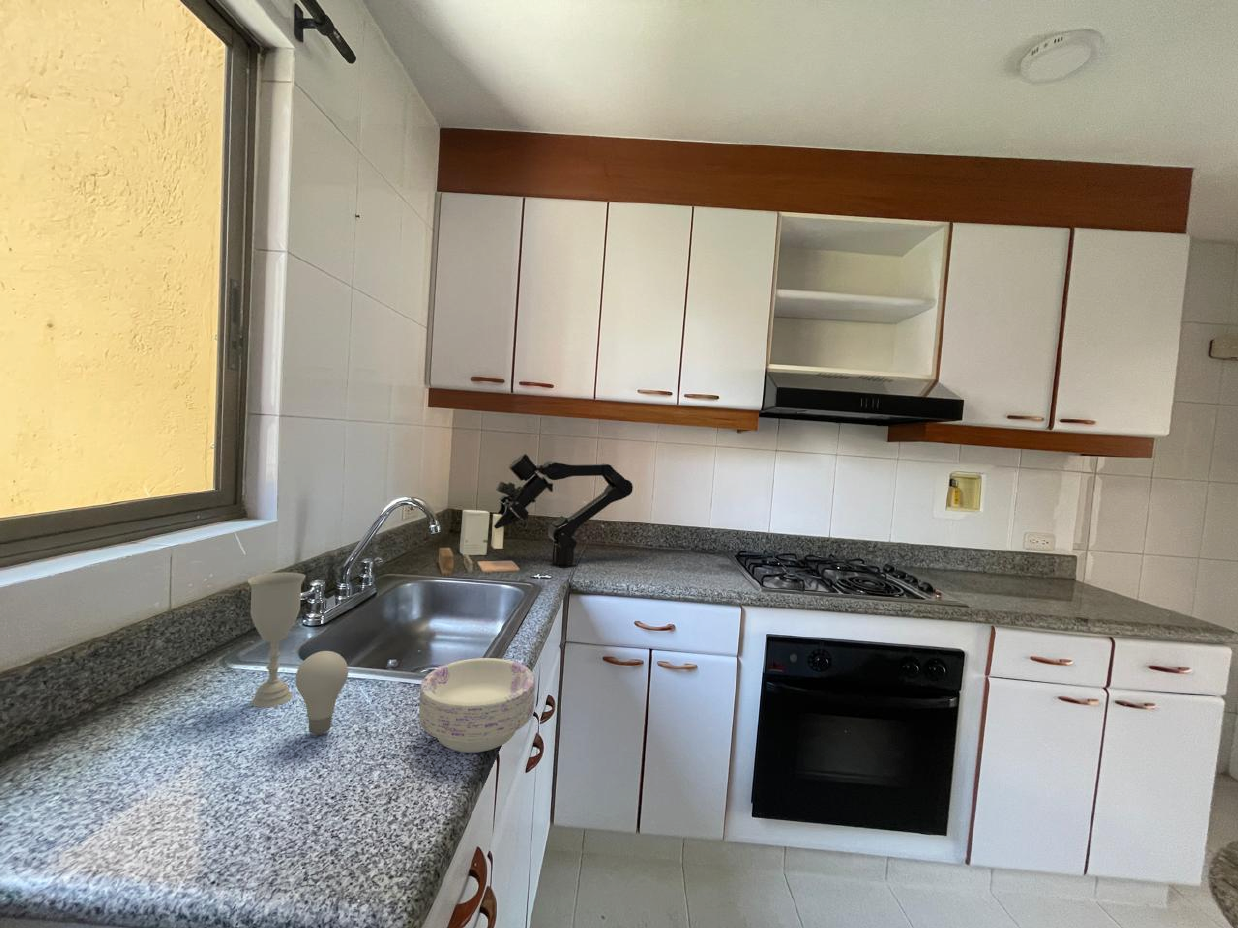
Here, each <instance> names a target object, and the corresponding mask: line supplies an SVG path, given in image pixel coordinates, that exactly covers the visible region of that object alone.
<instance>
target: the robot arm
mask: <svg viewBox="0 0 1238 928" xmlns="http://www.w3.org/2000/svg"><path fill="white" fill-rule="evenodd" d="M508 469H509V471H510V472H512V473H513V474H514V475H515V476H516V477H517V478H518V480H520V482H521V481H525V483H524V484H523V485H522V486H521V485H520V486H518V487H515V486H516V485H515V483H512V482H510V481H508V483H506V482H504V481H500V482H499V484H498V485H497V488H496V490H495V491H497V492H499V493H501V494H504V495H502V496H501V497H500V498H499V499H498V500H499V510H498V512H497V513H496V514H502V516H501V518H500V519H499V520H498V521H497V523H496V524H495V525H494V527H495V528H496V529H497V528H500V527H502V526H507V525H510V524H513V523H516V522H518V521H519V522H520V521H521V520H522V521H524V522H525V521H526V520H527V519H528V518H529V511H528V510H527V508H528V507H529V506H530V505H531V503H532V504H535V503H536V499H537V498H538V497H539V496H540V495H541V494H542V493H544V491H546V490H547V491H548V492H550V493H552V492H554V491H553V490H554V488H553V487H554V483H552V482H549V481H548V480H552V481H558V480H564V479H567V478H570V477H592V476H593V477H597V476H601V477H603V479H604V480H605V482H606V483H607V486H606V487H605V489H604V491H603V492H602V493H600V495H598V496H597V497H595V498H594V499H592V500H591V501H590V502H588V503H587V504H586V505H584V506H583V507H581V508H580V509H579V510H577V511H576V512H575V513H573V514H572V515H570V516H569V517H565V516H563V515H560V516H559V517H558V518H557V519H556V520H554V521H551V522H550V524H551V525H550V526H549V527H548V532H547V533H548V536H549V537H548V538H550V539H551V540H552V542H553V549H552V562H549V563H548V564H549V565H551V566H555V567H559V568H563V569H564V568H569V567H573V566H574V567H575V566H577V563H575V562H574V554H575V549H576V546H577V541H576V540H575V539H574V537H573V536H574V535H575V533H576V532H577V531H578V529H579V528H580V527H581V526H583V524H585V523H587V521H589V520H590V519H591V518H593V517H594V516H595V515H597V514H598V513H600V512H601V511H602V510H604V509H606V507H609V505H611V504H612V503H614V502H617V501H620V500H622V499H625V498H627V497H629V496H631V494H632V493H633V489H634V488H633V487H634V486H633V485H634V484H633V483H632V482H631V481H630V480H628V479H626V478H625V477H624V476H622V475H621V474H620V472H618V471H617V470H615V468H614V467H613V466H612V465H611V464H609V463H601V464H599V463H598V464H597V463H596V464H593V463H589V464H568V463H564V462H563V463H562V462H559V461H558V462H556V461H546V462H544V463H543V464H540V465H538V464H537V465H535V463H534V462H533V461H532V460H531V459H530V457H529V456H528V455H527V454H523V455H522V456H519V457H518V458H517V459H514V460H513V461H512V462H511V464H510V465H509V466H508ZM539 474H541V475H542V476H539ZM547 479H548V480H547ZM490 524H491V525H493V520H492V521H491V522H490Z"/></svg>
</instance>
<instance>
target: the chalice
mask: <svg viewBox="0 0 1238 928" xmlns="http://www.w3.org/2000/svg"><path fill="white" fill-rule="evenodd" d="M305 578H306V575H305V574H303V573H300V572H272V573H264V574H259V575H255V576H252V577H250V578H248V579H247V583H248V584H249V587H250V588H251V595H250V617H251V619H252V623H253V625H254V627H255V628H256V631H257V632H258V634H259V636H260V637H261V638H262V641H264V642H268V643H269V644H270V645H269V646H270V648H269V652H268V654H267V657H268V658H269V663H268V665H267V666H266V667H265V668H266V670H268V672H269V676H268V679H266V680H265V682H262V683H261V685H259V687H258V688H257V691H255V694H254V697H253V699H252V700H251V703H250V704H251V705H252V706H254V707H256V708H272V707H276V706H279V705H283V704H285V703H287V702H289V701H290V700H291V699H292V698H293V694H292V693H291V691H290V687H288V684H287V682H286V681H284V680H282V679H280V678H279V676H278V671H279V669H280V668H281V664H280V663H279V656H280V655H281V652H280V649H279V643H280V641H282V640H284V639H286V637H287V636H288V635H289V633H290V631H291V629H292V627H294V624H295V622H296V620H297V617H298V615H299V613H300V611H301V594H302V593H301V591H302V584H303V582H304V581H305Z"/></svg>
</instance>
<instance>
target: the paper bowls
mask: <svg viewBox="0 0 1238 928" xmlns="http://www.w3.org/2000/svg"><path fill="white" fill-rule="evenodd" d="M535 690H536V679H535V674H534V673H533V672H532V670H530V669H529V668H528V667H527V666H525V665H524V664H522V663H521V662H516V661H514V660H509V659H503V658H496V657H495V658H494V657H493V658H491V657H485V658H484V657H481V658H480V657H478V658H470V659H469V658H468V659H463V660H458V661H454V662H450V663H447V664H445V665H441V666H440V667H439V666H438V667H437V668H436V669H434V670H431V671H430V672H429V673H428V674H427V675H425V677H424V678H423V679H422V681H421V683H420V685H419V700H418V701H419V703H418V706H419V707H418V708H419V709H418V712H419V713H418V718H419V723H420V726H421V728H422V729H423V730H424V731H425V732H426V734H429V735H430V736H431V737H435V738H436V739H437V740H438V742H439V743H440V744H441V745H443V746H444V747H445V748H447V749H448V750H449V749H450V750H451V751H454V752H459V753H467V754H473V753H474V754H475V753H482V752H483V753H484V752H487V751H488V752H489V751H491V750H495V749H497V748H499V747H501V746H503V745H505V744H506V743H507V742H508V741H510V740H511V739H512V737H514V735H515V734H516V732H517V731H518V730H520V729H522V728H523V727H524V726H525V725H526V724H528V723H529V721H530V720H531V719H532V717H533V714H534V710H535V699H536V698H535V692H536V691H535Z"/></svg>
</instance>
